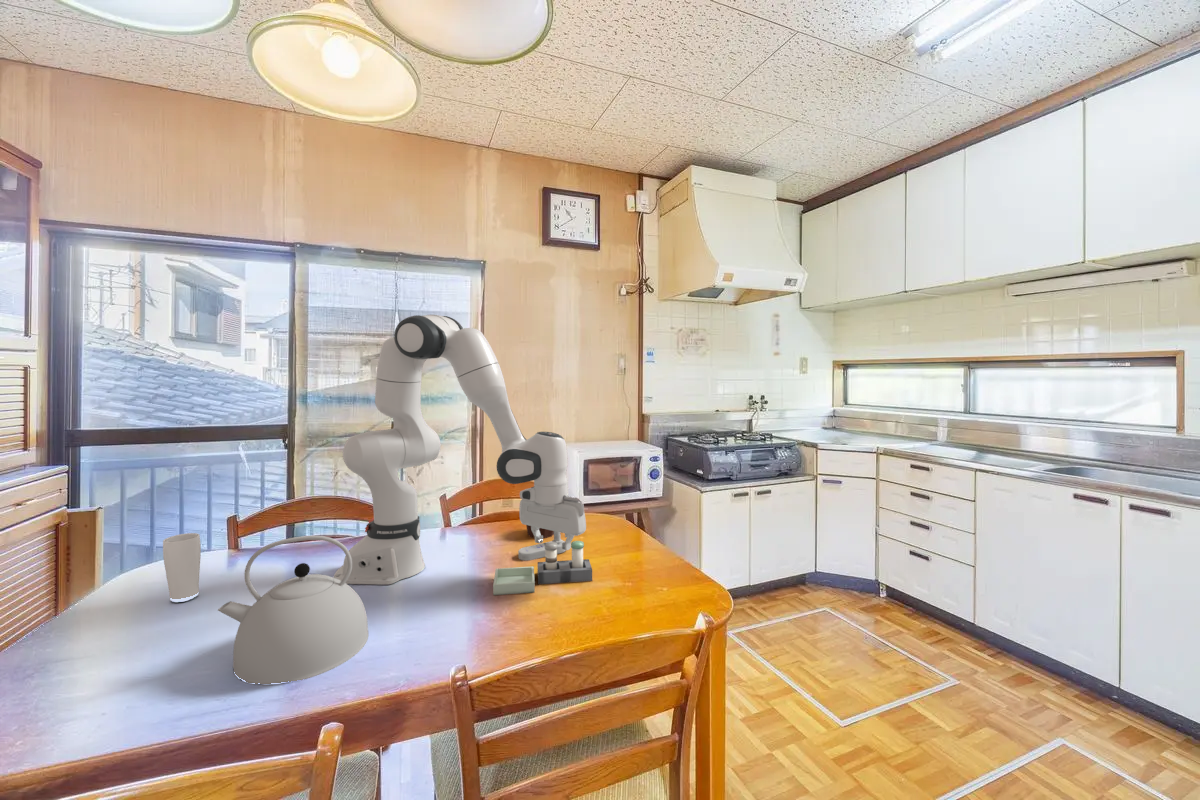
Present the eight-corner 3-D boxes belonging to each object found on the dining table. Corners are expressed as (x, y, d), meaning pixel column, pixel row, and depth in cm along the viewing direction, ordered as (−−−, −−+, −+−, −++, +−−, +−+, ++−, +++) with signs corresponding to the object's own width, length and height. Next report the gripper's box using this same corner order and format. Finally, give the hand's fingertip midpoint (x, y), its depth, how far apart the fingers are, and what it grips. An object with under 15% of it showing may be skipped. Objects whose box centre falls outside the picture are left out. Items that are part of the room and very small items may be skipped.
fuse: (571, 579, 127) (571, 545, 127) (570, 573, 130) (570, 541, 130) (584, 578, 128) (584, 544, 127) (583, 572, 131) (583, 540, 130)
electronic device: (514, 525, 142) (560, 516, 150) (516, 557, 143) (561, 546, 151) (521, 530, 138) (568, 521, 145) (522, 563, 139) (569, 552, 146)
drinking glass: (209, 595, 117) (206, 535, 116) (175, 608, 111) (171, 544, 110) (193, 590, 120) (190, 531, 119) (159, 602, 114) (156, 539, 113)
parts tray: (493, 595, 118) (493, 585, 118) (495, 577, 128) (495, 568, 128) (534, 592, 119) (534, 582, 119) (533, 575, 129) (533, 566, 129)
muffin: (542, 542, 154) (542, 511, 154) (516, 536, 160) (516, 506, 160) (565, 532, 164) (565, 503, 164) (540, 526, 170) (539, 498, 170)
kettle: (197, 703, 80) (190, 569, 78) (238, 634, 100) (233, 527, 99) (365, 667, 89) (361, 548, 88) (371, 611, 110) (368, 514, 109)
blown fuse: (545, 580, 126) (544, 547, 125) (544, 575, 129) (544, 542, 129) (558, 580, 127) (557, 546, 126) (557, 574, 130) (557, 541, 129)
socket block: (538, 584, 124) (538, 572, 124) (537, 572, 131) (537, 562, 131) (592, 580, 126) (592, 569, 126) (588, 569, 133) (588, 559, 133)
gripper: (590, 496, 123) (591, 549, 123) (531, 486, 135) (532, 535, 135) (575, 501, 118) (576, 557, 118) (515, 491, 129) (516, 542, 130)
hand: (552, 545), depth 127 cm, fingers open, 8 cm apart
